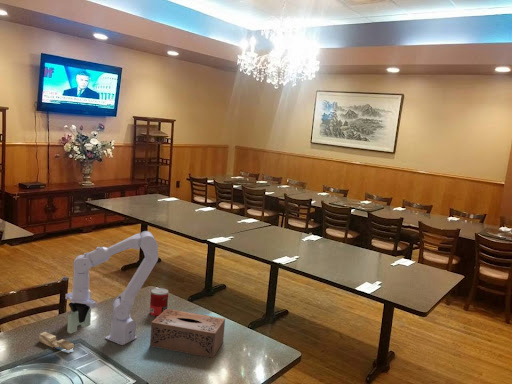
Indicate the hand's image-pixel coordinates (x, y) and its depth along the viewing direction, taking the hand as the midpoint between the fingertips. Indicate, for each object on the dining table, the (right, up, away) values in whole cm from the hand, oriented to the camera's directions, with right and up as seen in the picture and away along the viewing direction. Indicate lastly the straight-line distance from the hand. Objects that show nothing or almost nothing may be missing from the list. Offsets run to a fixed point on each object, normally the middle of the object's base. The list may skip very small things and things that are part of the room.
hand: (79, 320), depth 162 cm
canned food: (+23, -7, +33) cm, 41 cm away
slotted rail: (-7, -8, -4) cm, 12 cm away
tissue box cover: (+40, -12, +7) cm, 43 cm away
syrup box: (-7, -6, +17) cm, 19 cm away
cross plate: (0, -3, 0) cm, 3 cm away
